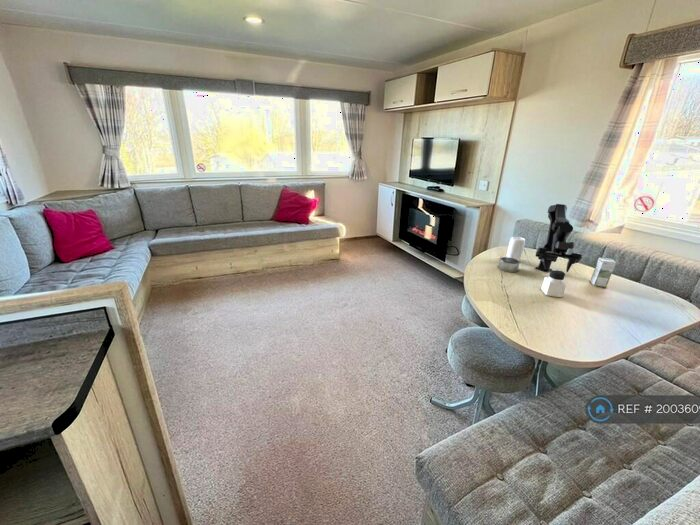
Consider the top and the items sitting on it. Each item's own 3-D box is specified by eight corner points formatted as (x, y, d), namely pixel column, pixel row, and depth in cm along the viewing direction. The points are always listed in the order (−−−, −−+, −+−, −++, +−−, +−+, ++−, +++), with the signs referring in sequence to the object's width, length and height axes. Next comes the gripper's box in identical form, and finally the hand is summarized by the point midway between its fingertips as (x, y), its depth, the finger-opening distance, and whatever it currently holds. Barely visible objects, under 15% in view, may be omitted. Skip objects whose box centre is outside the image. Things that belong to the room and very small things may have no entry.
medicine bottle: (562, 297, 150) (569, 275, 145) (546, 295, 151) (553, 273, 146) (556, 291, 156) (563, 269, 152) (540, 289, 157) (547, 267, 153)
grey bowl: (504, 263, 188) (506, 255, 186) (521, 269, 181) (523, 261, 179) (494, 267, 183) (496, 258, 181) (511, 273, 175) (513, 264, 173)
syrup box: (602, 283, 167) (611, 258, 162) (606, 287, 162) (616, 262, 157) (589, 281, 169) (598, 256, 164) (593, 285, 164) (603, 260, 158)
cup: (502, 257, 199) (508, 236, 194) (515, 257, 200) (520, 236, 195) (510, 262, 191) (516, 240, 186) (523, 262, 192) (529, 240, 187)
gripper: (542, 232, 155) (539, 259, 149) (587, 238, 148) (585, 267, 143) (536, 242, 164) (533, 269, 159) (578, 248, 158) (576, 276, 152)
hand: (556, 270), depth 153 cm, fingers open, 9 cm apart
